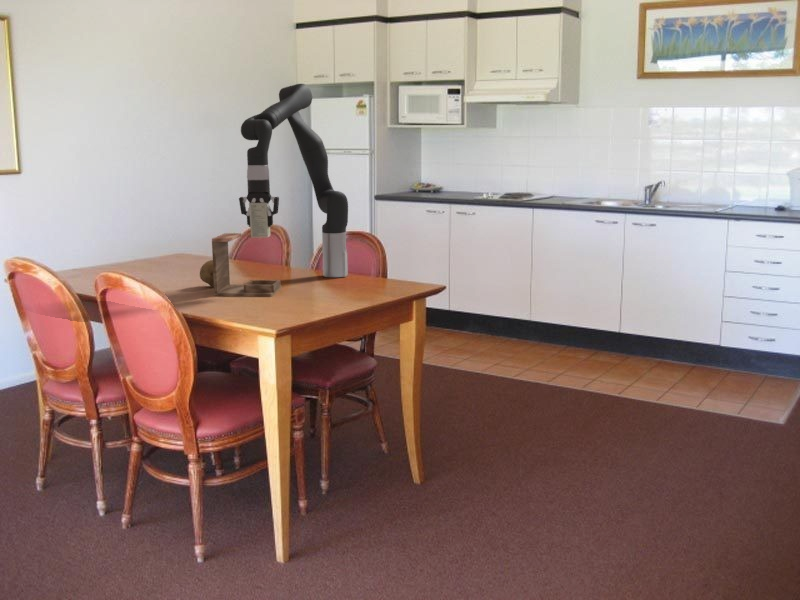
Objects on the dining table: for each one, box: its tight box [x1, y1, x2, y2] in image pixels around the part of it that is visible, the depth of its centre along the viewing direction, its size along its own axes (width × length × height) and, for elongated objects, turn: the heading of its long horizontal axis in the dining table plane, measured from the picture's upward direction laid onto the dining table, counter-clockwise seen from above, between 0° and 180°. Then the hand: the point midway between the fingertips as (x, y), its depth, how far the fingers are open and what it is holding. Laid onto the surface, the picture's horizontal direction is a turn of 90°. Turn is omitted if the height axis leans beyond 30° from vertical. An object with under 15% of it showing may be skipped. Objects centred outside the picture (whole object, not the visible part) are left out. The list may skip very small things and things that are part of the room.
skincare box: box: [248, 202, 272, 239], centre depth 308 cm, size 6×4×12 cm
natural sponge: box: [199, 259, 214, 288], centre depth 324 cm, size 9×9×10 cm
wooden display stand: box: [211, 232, 282, 297], centre depth 312 cm, size 20×16×20 cm
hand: (260, 226), depth 309 cm, fingers closed on skincare box, 6 cm apart
